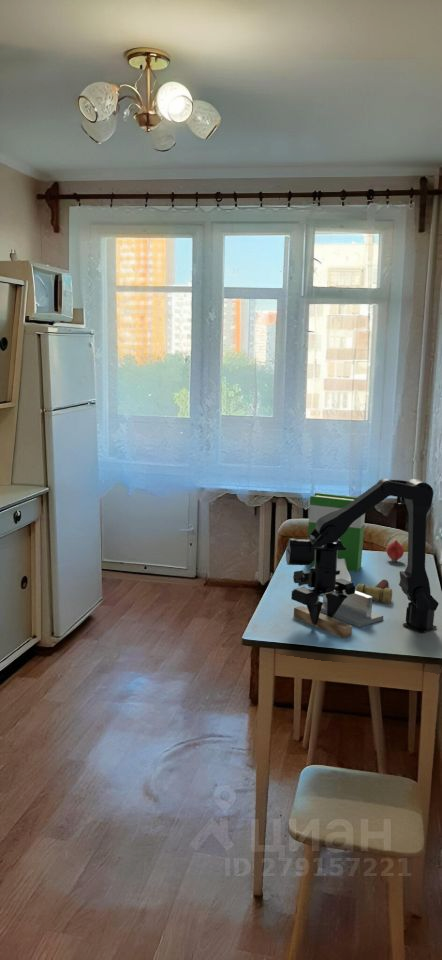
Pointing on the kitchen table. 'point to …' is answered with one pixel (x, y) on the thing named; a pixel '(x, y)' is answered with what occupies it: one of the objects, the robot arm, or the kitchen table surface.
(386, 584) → the gavel
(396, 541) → the onion
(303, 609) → the walnut batten
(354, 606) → the steel ridge
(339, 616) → the board
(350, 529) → the hardback book
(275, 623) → the kitchen table surface
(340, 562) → the spoon rest
